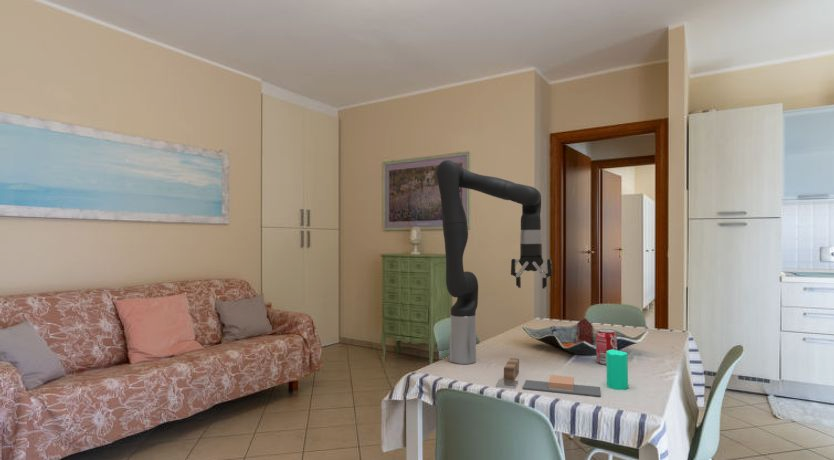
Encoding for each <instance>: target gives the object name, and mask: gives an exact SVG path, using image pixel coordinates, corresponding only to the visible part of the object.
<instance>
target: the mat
mask: <svg viewBox="0 0 834 460" xmlns="http://www.w3.org/2000/svg"><path fill="white" fill-rule="evenodd" d="M522 390H524V391H525V390H527V391H535V392H536V391H538V392H546V393H547V392H548V393H556V394H567V395H574V396H575V395H576V396H585V397H586V396H587V397H595V398H601V397H602V394H601V387H600V386H595V385H594V386H593V385H585V384H584V385H583V384H574V389H573V391H564V390H554V389H549V381H544V380H543V381H541V380H529V379H525V381H524V383H523V385H522Z"/></svg>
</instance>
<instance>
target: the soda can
mask: <svg viewBox="0 0 834 460" xmlns="http://www.w3.org/2000/svg"><path fill="white" fill-rule="evenodd" d="M595 347H596V348H595V349H596V350H595V352H596V353H595V354H596V356H595V357H596V361H597V362H598V363H599V364H600V365H603V366H606V351H608V350H617V351H618V337H617V334H616V331H615V330H614V329H612V328H599V329H597V333H596V335H595Z"/></svg>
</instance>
